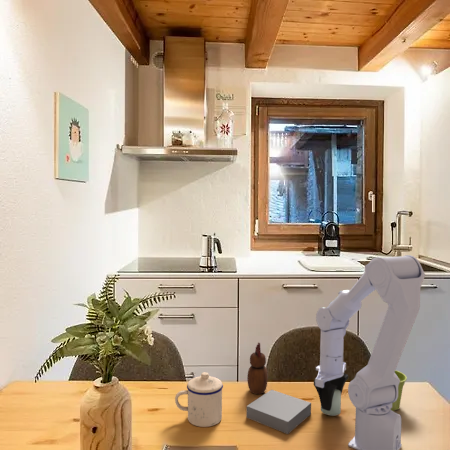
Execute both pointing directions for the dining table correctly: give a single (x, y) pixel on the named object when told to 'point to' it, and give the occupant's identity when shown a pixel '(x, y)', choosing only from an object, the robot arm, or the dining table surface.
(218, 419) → the teacup with lid
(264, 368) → the wooden figurine
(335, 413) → the sage cylinder
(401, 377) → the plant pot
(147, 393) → the dining table surface
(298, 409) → the gray square block
